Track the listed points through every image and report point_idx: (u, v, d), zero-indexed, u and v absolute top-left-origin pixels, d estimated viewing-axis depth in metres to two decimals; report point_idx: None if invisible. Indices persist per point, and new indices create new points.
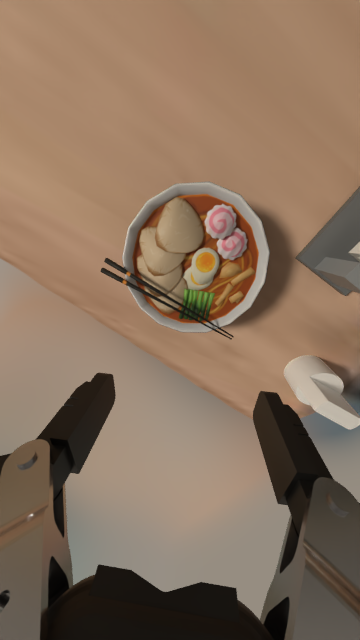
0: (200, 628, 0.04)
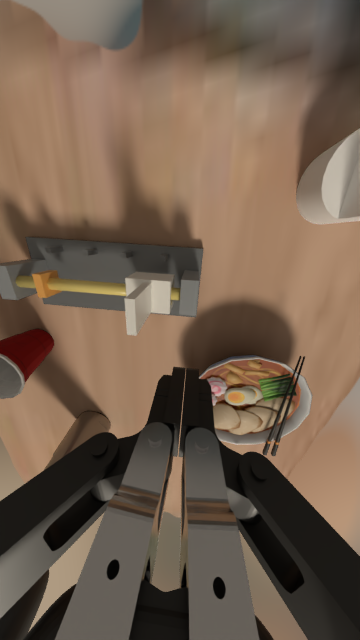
0: (200, 628, 0.04)
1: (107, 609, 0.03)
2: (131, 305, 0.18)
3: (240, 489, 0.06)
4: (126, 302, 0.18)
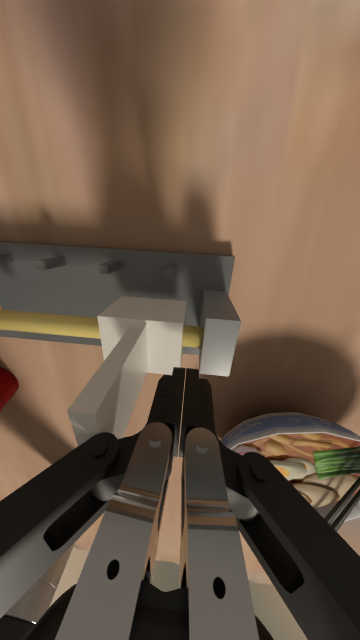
0: (200, 628, 0.04)
1: (107, 610, 0.03)
2: (88, 425, 0.07)
3: (240, 489, 0.06)
4: (75, 418, 0.06)
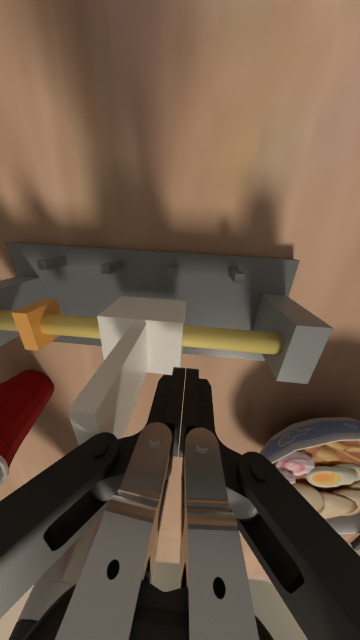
0: (200, 628, 0.04)
1: (107, 609, 0.03)
2: (88, 424, 0.07)
3: (240, 489, 0.06)
4: (75, 418, 0.06)
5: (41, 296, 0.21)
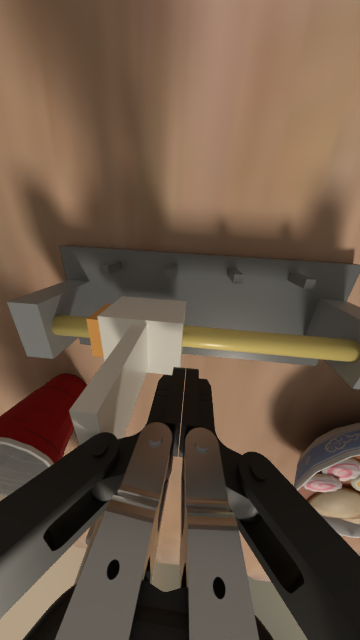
0: (200, 628, 0.04)
1: (107, 609, 0.03)
2: (90, 424, 0.07)
3: (240, 489, 0.06)
4: (77, 418, 0.07)
5: (90, 300, 0.21)
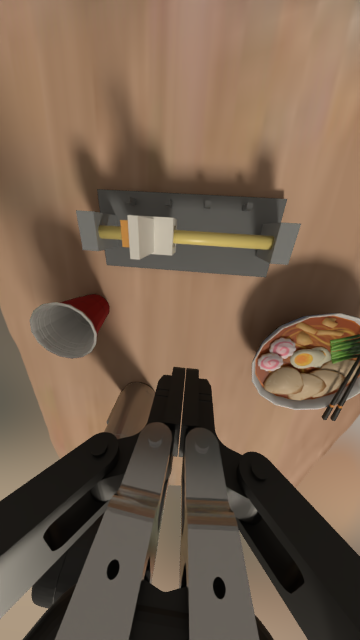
0: (200, 628, 0.04)
1: (107, 609, 0.03)
2: (134, 223, 0.18)
3: (240, 489, 0.06)
4: (129, 219, 0.17)
5: None
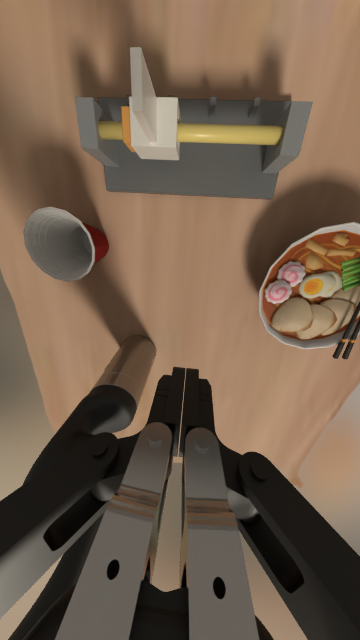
0: (200, 628, 0.04)
1: (107, 609, 0.03)
2: (137, 58, 0.16)
3: (240, 489, 0.06)
4: (132, 53, 0.16)
5: (116, 143, 0.30)
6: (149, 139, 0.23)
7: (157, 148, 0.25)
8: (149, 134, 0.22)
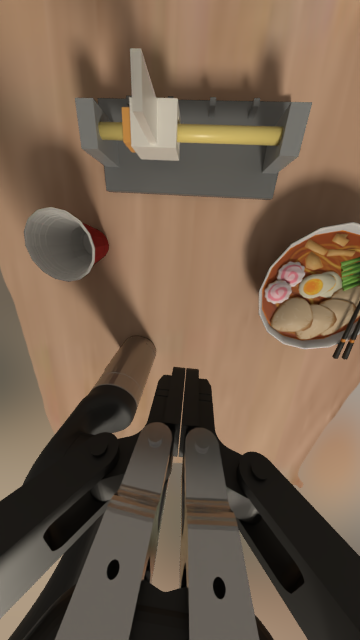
0: (200, 628, 0.04)
1: (107, 609, 0.03)
2: (137, 59, 0.16)
3: (240, 489, 0.06)
4: (132, 54, 0.16)
5: (116, 144, 0.30)
6: (149, 140, 0.23)
7: (157, 148, 0.25)
8: (149, 135, 0.22)
